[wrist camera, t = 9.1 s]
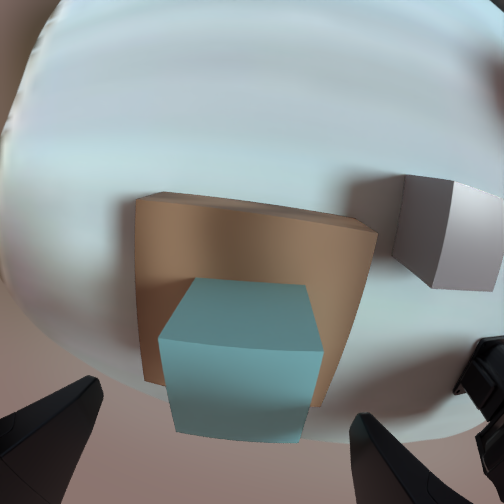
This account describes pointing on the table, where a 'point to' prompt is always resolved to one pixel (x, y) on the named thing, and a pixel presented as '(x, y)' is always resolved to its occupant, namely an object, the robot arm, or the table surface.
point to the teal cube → (241, 360)
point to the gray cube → (450, 234)
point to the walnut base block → (248, 264)
